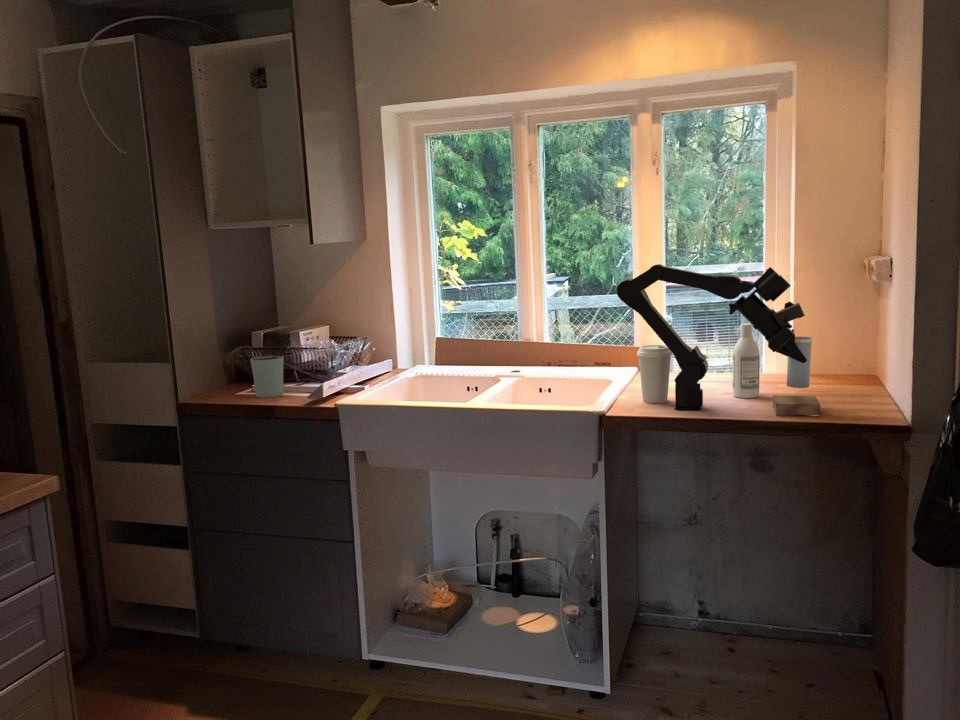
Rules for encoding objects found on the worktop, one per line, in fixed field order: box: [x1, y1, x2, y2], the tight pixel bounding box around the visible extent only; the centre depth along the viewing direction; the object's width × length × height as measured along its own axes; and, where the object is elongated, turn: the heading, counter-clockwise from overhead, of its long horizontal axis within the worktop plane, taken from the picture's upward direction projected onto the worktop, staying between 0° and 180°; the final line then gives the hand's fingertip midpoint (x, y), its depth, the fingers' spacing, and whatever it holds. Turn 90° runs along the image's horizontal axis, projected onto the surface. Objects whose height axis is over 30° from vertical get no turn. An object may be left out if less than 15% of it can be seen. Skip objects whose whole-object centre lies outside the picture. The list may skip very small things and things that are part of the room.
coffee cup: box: [636, 344, 674, 404], centre depth 210 cm, size 10×10×15 cm
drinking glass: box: [249, 355, 285, 399], centre depth 245 cm, size 10×10×12 cm
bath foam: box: [732, 323, 761, 399], centre depth 211 cm, size 7×7×20 cm
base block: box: [772, 394, 821, 417], centre depth 192 cm, size 10×10×3 cm
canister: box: [786, 336, 813, 389], centre depth 190 cm, size 5×5×12 cm
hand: (805, 360), depth 190 cm, fingers closed on canister, 5 cm apart
